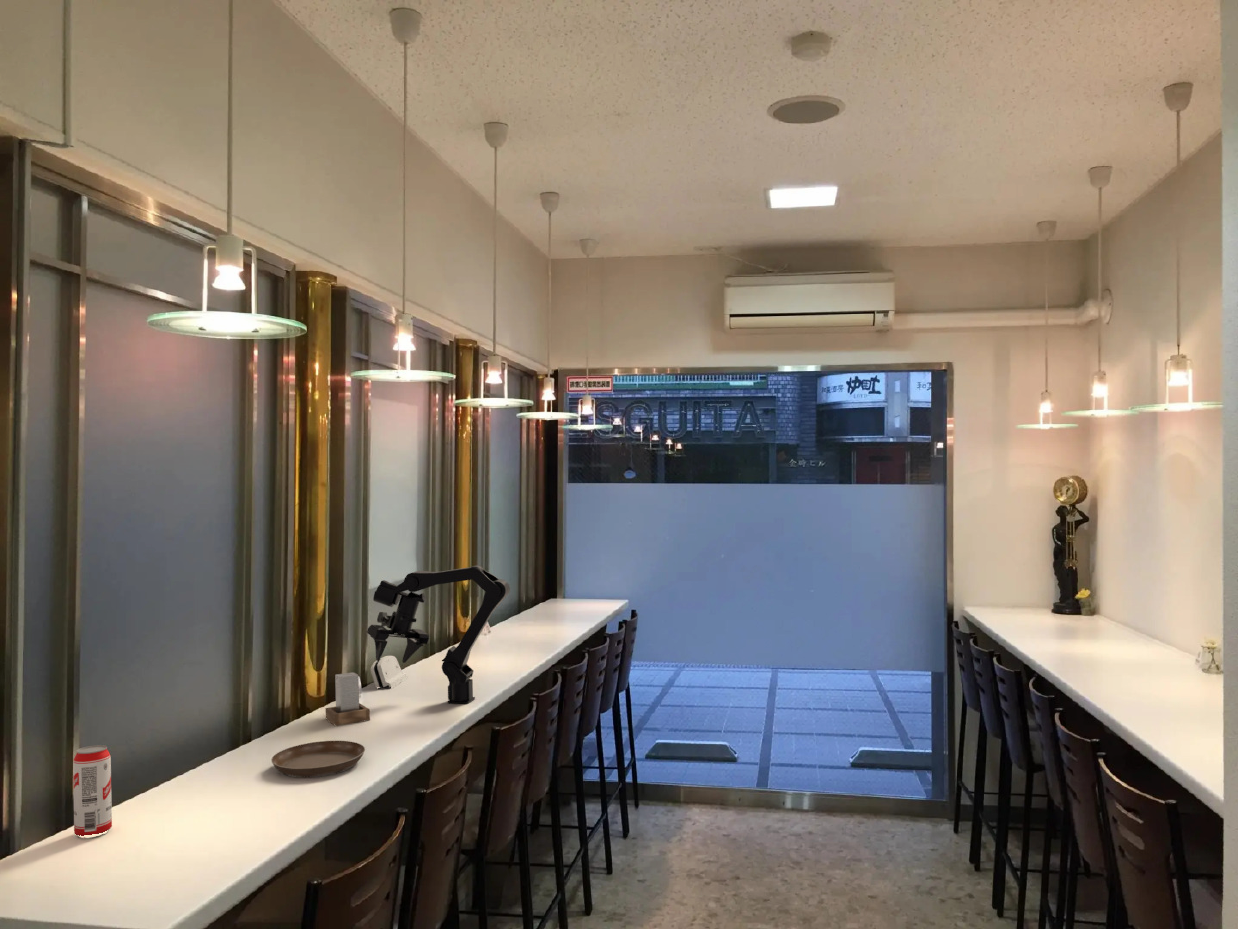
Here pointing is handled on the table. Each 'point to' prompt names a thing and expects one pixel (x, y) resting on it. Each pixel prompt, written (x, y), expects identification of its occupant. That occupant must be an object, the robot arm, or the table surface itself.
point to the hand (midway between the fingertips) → (390, 661)
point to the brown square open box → (347, 715)
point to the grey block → (347, 692)
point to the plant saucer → (318, 758)
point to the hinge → (387, 672)
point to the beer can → (92, 790)
